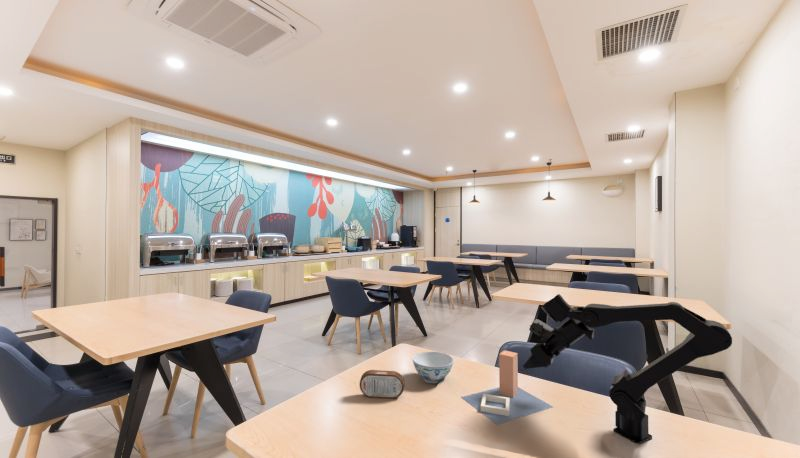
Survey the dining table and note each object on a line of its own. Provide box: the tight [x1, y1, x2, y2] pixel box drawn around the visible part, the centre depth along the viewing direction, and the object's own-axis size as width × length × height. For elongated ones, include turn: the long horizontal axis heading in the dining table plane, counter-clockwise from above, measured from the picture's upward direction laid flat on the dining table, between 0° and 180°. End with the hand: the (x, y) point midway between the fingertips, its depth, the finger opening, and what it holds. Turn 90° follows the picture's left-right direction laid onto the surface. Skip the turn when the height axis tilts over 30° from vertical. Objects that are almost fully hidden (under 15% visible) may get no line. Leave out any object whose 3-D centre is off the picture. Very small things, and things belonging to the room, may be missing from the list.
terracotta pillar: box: [498, 349, 519, 398], centre depth 109 cm, size 4×4×13 cm
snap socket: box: [481, 394, 510, 416], centre depth 100 cm, size 8×8×2 cm
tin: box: [359, 369, 406, 400], centre depth 109 cm, size 15×3×8 cm, turn 84°
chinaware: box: [412, 351, 454, 384], centre depth 122 cm, size 15×15×8 cm
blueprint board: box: [460, 386, 554, 426], centre depth 103 cm, size 17×22×1 cm
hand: (528, 362), depth 105 cm, fingers open, 9 cm apart
